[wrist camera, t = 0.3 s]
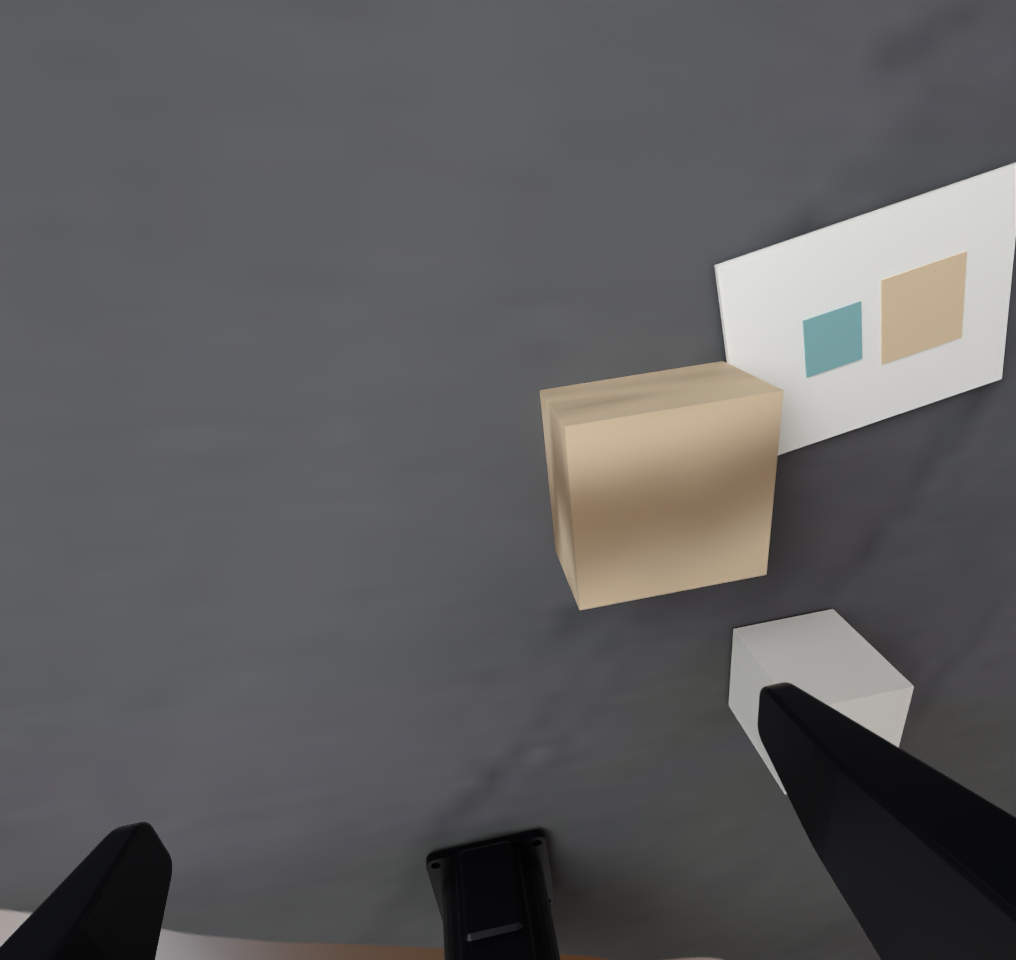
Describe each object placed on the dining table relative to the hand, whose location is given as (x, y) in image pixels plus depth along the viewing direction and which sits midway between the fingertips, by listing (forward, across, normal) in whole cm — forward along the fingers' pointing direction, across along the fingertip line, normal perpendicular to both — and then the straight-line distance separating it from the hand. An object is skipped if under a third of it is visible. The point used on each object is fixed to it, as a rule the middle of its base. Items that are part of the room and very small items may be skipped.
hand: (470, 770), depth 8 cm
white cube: (+14, -14, +14) cm, 25 cm away
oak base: (+14, -7, +2) cm, 16 cm away
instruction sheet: (+14, -16, -2) cm, 22 cm away
